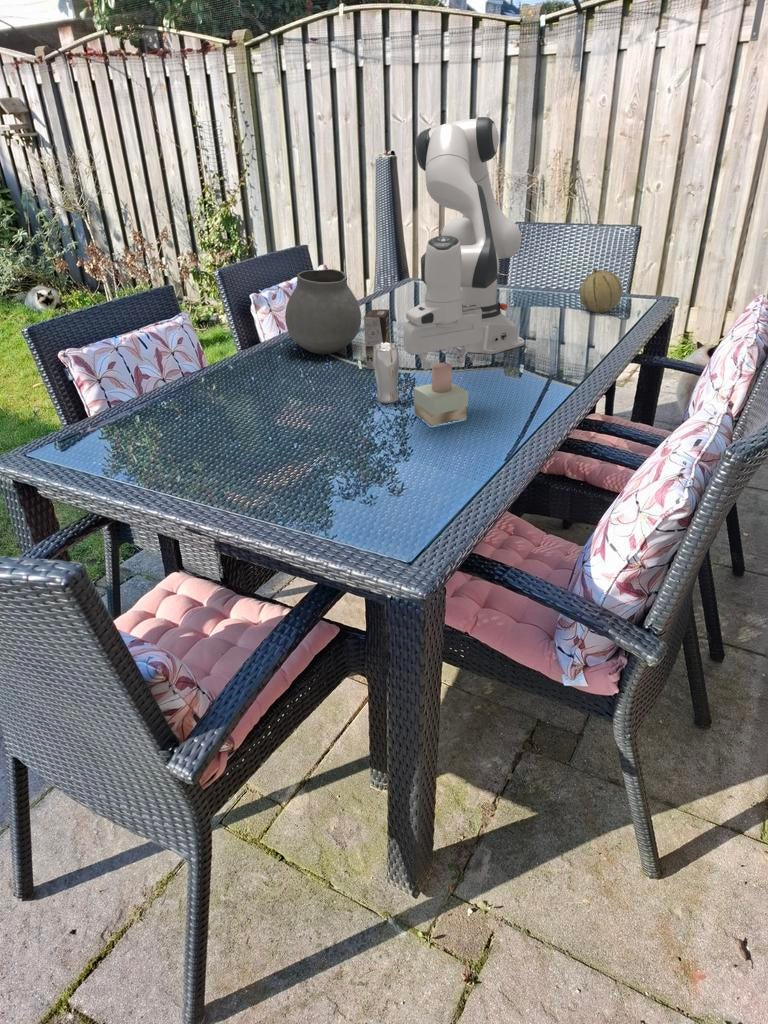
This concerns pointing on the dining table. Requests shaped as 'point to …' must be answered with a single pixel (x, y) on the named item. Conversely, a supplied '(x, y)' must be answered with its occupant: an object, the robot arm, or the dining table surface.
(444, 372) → the rose cylinder
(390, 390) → the beer glass
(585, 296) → the cantaloupe
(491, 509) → the dining table surface
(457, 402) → the tower top
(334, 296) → the ceramic pot
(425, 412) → the tower base
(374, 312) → the coffee box
